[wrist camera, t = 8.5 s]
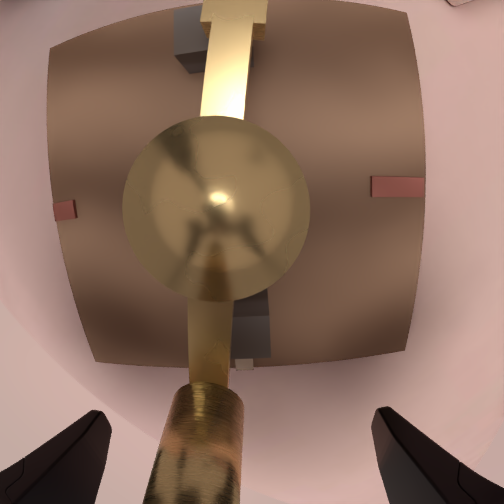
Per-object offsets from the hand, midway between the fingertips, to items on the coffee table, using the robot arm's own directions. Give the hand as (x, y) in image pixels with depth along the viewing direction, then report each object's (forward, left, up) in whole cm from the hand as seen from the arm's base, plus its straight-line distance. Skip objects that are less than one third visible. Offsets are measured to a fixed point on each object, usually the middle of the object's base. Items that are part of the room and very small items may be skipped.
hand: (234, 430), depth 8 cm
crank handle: (-6, 0, -2) cm, 6 cm away
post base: (-6, 0, -6) cm, 9 cm away
